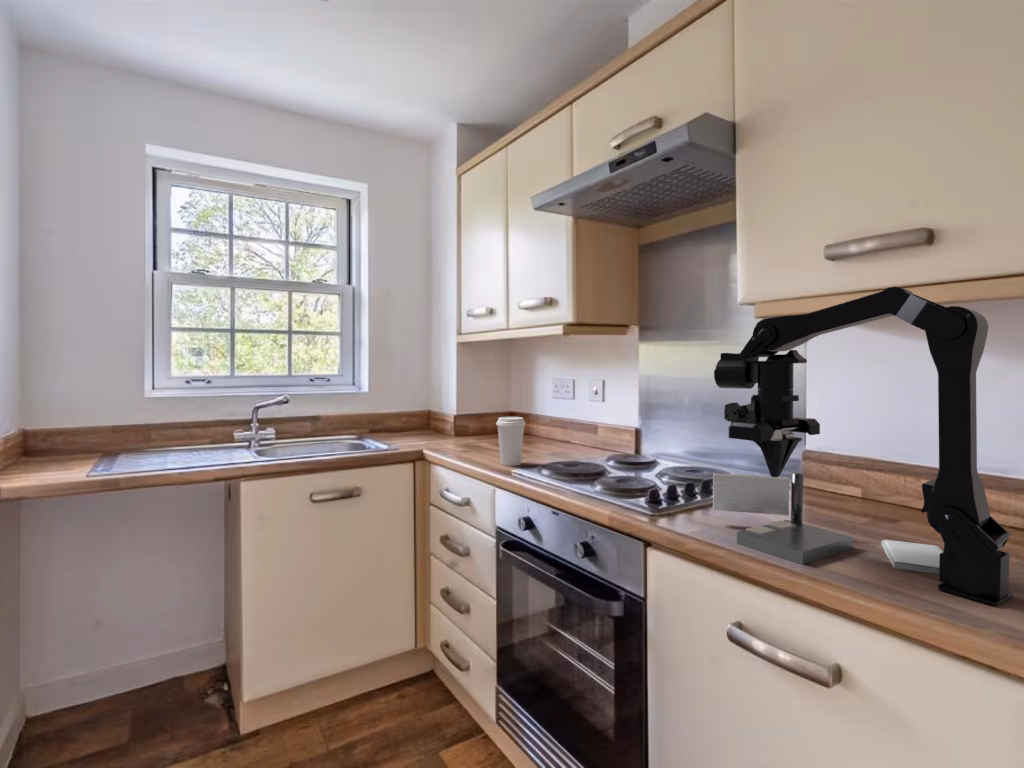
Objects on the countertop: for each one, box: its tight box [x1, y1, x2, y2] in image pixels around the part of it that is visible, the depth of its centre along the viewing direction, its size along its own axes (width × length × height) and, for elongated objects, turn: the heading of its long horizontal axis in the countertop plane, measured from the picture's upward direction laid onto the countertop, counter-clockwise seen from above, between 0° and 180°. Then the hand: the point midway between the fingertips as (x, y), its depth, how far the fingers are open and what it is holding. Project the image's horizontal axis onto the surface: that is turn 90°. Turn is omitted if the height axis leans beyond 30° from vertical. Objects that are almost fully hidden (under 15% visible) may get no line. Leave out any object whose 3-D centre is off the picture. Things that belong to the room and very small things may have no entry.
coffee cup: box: [495, 416, 527, 467], centre depth 173 cm, size 10×10×15 cm
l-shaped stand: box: [736, 471, 854, 566], centre depth 94 cm, size 12×18×11 cm
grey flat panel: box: [712, 472, 790, 516], centre depth 105 cm, size 14×2×7 cm, turn 73°
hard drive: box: [881, 539, 944, 575], centre depth 87 cm, size 2×8×12 cm
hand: (774, 476), depth 95 cm, fingers closed
